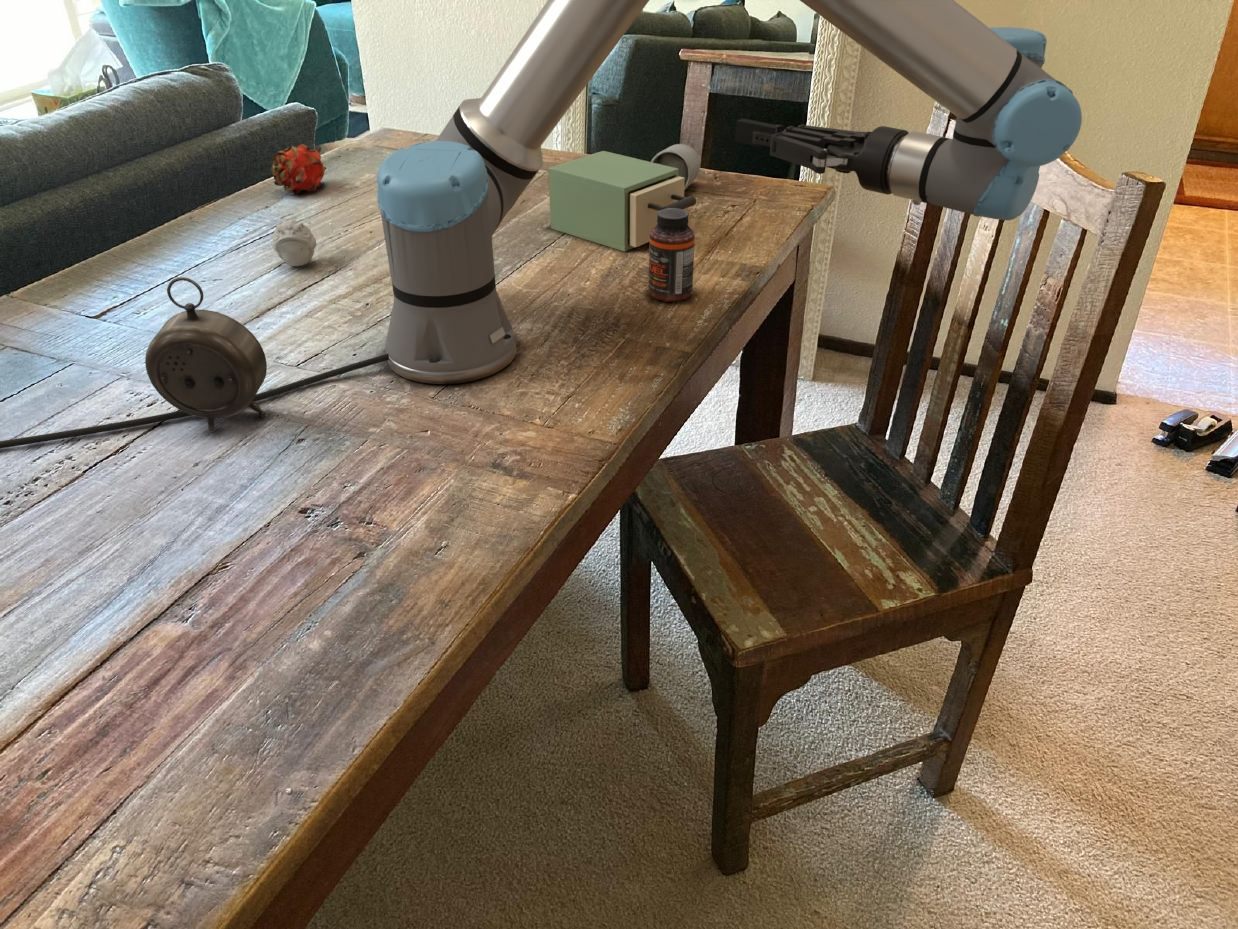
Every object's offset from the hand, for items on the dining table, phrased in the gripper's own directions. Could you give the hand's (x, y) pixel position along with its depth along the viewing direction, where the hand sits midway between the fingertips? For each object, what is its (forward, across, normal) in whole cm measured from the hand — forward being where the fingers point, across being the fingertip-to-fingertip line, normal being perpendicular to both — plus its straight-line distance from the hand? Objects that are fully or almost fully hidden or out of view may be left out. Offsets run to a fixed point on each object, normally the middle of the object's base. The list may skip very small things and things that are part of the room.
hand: (739, 129), depth 124 cm
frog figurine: (+47, -41, -20) cm, 66 cm away
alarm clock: (+15, -71, -20) cm, 75 cm away
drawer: (+18, 0, -18) cm, 26 cm away
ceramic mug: (+29, +22, -19) cm, 41 cm away
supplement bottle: (0, -14, -19) cm, 24 cm away
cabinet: (+23, 0, -19) cm, 30 cm away
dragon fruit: (+78, -21, -20) cm, 83 cm away
